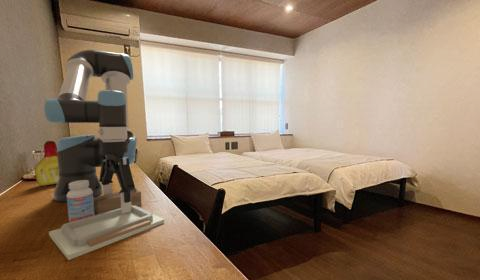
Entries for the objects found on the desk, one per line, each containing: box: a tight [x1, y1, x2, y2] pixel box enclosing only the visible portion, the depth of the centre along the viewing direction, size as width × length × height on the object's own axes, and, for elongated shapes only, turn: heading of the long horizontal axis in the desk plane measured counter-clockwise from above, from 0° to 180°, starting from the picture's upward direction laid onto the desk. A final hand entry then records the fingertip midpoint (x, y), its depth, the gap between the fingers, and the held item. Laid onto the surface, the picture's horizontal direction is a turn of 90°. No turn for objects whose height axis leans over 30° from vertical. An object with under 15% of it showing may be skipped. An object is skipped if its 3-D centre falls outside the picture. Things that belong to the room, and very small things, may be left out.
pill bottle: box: [66, 180, 95, 223], centre depth 63 cm, size 6×6×11 cm
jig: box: [48, 205, 165, 261], centre depth 59 cm, size 16×22×2 cm
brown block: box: [93, 187, 142, 215], centre depth 72 cm, size 5×13×6 cm, turn 139°
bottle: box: [34, 140, 59, 187], centre depth 102 cm, size 12×6×20 cm, turn 138°
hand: (116, 208), depth 71 cm, fingers open, 13 cm apart
